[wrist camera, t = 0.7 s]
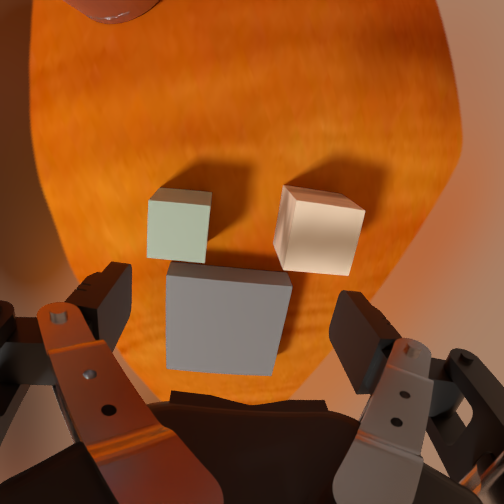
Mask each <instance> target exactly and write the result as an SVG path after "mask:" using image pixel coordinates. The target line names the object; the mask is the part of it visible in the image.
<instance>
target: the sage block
mask: <svg viewBox="0 0 504 504" xmlns="http://www.w3.org/2000/svg"><path fill="white" fill-rule="evenodd" d="M211 200H212V192H205V191H195V190H184V189H173V188H161V187H160V188H159V189H158V190H157V191H156V192H155V194H154V195H153V196H152V197H151V198H150V199H149V203H148V229H147V257H148V258H157V259H167V260H177V261H187V262H198V263H205V257H206V248H207V239H208V229H209V219H210V210H211Z"/></svg>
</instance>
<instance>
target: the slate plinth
mask: <svg viewBox="0 0 504 504" xmlns="http://www.w3.org/2000/svg"><path fill="white" fill-rule="evenodd" d="M292 287H293V286H292V283H291V281H290V278H289V276H288V273H287V272H276V271H264V270H253V269H242V268H231V267H221V266H210V265H200V264H189V263H179V262H171V263H170V266H169V269H168V272H167V275H166V365H167V369H174V370H184V371H195V372H207V373H221V374H237V375H261V376H271V375H272V371H273V367H274V363H275V359H276V355H277V351H278V347H279V343H280V339H281V335H282V331H283V326H284V322H285V318H286V314H287V309H288V305H289V301H290V296H291V292H292Z"/></svg>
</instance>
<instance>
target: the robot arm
mask: <svg viewBox="0 0 504 504" xmlns="http://www.w3.org/2000/svg"><path fill="white" fill-rule="evenodd" d="M63 1H65V2H66V3H68V4H69V5H71V6H73V7H74V8H76V9H77V10H79V11H80V12H82V13H83V14H85V15H86V16H88V17H89V18H91V19H93V20H95V21H97V22H101V23H105V24H115V23H122V22H126V21H129V20H132V19H134V18H136V17H138V16H140V15H142V14H144V13H145V12H147V11H148V10H149V9H151V8H152V7H153V6H154V5H155V4H156V3H157V2H158V1H159V0H63ZM131 304H132V267H131V264H126V263H119V262H111V263H110V264H109V265H108V266H107V267H106V268H105V269H104V271H103V272H102V273H101V272H96V273H94V274H92V275H90V276H87V277H86V278H85V279H84V281H83V282H82V283H81V284H80V285H79V286H78V287H77V290H76V289H75V290H74V292H73V293H72V294H71V295H70V296H69V297H68V298H67V299H66V301H65V302H56V303H50V304H47V305H45V306H44V307H42V308H41V309H39V311H38V313H37V317H15V312H14V307H13V305H12V304H11V303H9V302H7V301H2V300H0V445H1V443H2V441H3V439H4V437H5V435H6V432H7V430H8V428H9V426H10V424H11V422H12V420H13V418H14V416H15V414H16V412H17V410H18V408H19V406H20V404H21V402H22V400H23V398H24V396H25V395H26V393H27V391H28V389H29V387H30V385H52V388H53V391H54V393H55V396H56V399H57V402H58V405H59V407H60V410H61V412H62V415H63V417H64V420H65V422H66V425H67V427H68V430H69V433H70V435H71V438H72V440H73V442H74V444H73V445H71V446H69V447H68V448H66V449H64V450H62V451H60V452H58V453H57V454H55V455H53V456H51V457H49V458H48V459H46V460H44V461H42V462H40V463H38V464H37V465H34V466H33V467H31V468H29V469H27V470H25V471H23V472H21V473H19V474H17V475H15V476H13V477H11V478H9V479H7V480H6V481H4V482H2V483H1V484H0V504H504V387H503V386H502V385H501V383H500V382H499V381H498V380H497V379H496V377H495V376H494V375H493V374H492V373H491V372H490V371H489V370H488V368H487V367H486V366H485V365H484V364H483V363H482V362H481V360H480V359H479V358H478V357H477V356H475V355H474V354H472V353H471V352H469V351H467V350H464V349H458V348H456V349H452V350H451V351H450V353H449V355H448V357H447V359H446V360H441V359H436V358H431V352H430V350H429V349H428V348H427V347H426V346H425V345H424V344H422V343H420V342H418V341H416V340H413V339H409V338H402V337H401V336H400V334H399V333H398V332H397V331H396V329H395V328H394V327H393V326H392V325H391V324H390V322H389V321H388V320H387V319H386V317H385V316H384V315H383V314H382V313H381V312H380V310H378V309H377V308H375V307H374V306H372V305H371V304H370V303H369V301H368V300H367V299H366V298H365V297H364V295H363V294H362V293H361V292H356V291H346V290H343V291H341V292H340V294H339V296H338V300H337V303H336V307H335V310H334V313H333V317H332V320H331V323H330V327H329V338H330V341H331V343H332V345H333V347H334V349H335V351H336V353H337V355H338V357H339V359H340V362H341V363H342V366H343V368H344V370H345V372H346V374H347V376H348V378H349V380H350V382H351V384H352V386H353V388H354V390H355V392H356V394H370V395H371V396H370V398H369V400H368V402H367V404H366V406H365V408H364V410H363V412H362V414H361V416H360V418H359V420H358V421H357V420H355V419H353V418H351V417H349V416H346V415H343V414H341V413H337V412H333V411H328V408H327V406H326V403H325V401H324V400H286V401H280V402H274V403H267V404H260V405H246V404H242V403H238V402H234V401H230V400H227V399H223V398H219V397H215V396H212V395H205V394H196V393H187V392H180V391H172V390H171V395H170V401H164V402H157V403H151V404H147V405H146V404H145V402H144V401H143V399H142V398H141V396H140V395H139V394H138V392H137V391H136V389H135V388H134V386H133V385H132V383H131V382H130V380H129V379H128V377H127V376H126V374H125V373H124V371H123V369H122V368H121V366H120V365H119V363H118V362H117V360H116V358H115V357H114V355H113V353H112V352H113V350H114V348H115V346H116V344H117V342H118V340H119V338H120V335H121V333H122V331H123V329H124V327H125V325H126V323H127V321H128V319H129V316H130V312H131ZM464 397H465V398H466V399H467V401H468V402H469V404H470V405H471V407H472V410H473V417H472V419H471V421H470V423H469V424H468V426H467V427H466V426H465V425H464V423H463V422H462V420H461V419H460V417H459V416H458V414H457V412H456V410H457V408H458V407H459V405H460V403H461V402H462V400H463V399H464ZM425 431H426V432H427V433H428V435H429V437H430V439H431V441H432V443H433V445H434V447H435V449H436V451H437V452H438V455H439V457H440V458H441V461H442V463H443V464H444V467H445V468H446V471H447V473H448V475H449V476H450V478H449V477H447V476H446V475H444V474H442V473H441V472H439V471H437V470H435V469H434V468H432V467H430V466H429V465H427V464H425V463H424V462H423V457H421V449H422V445H423V440H424V436H425Z"/></svg>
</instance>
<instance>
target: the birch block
mask: <svg viewBox="0 0 504 504" xmlns="http://www.w3.org/2000/svg"><path fill="white" fill-rule="evenodd" d="M364 215H365V210H364V209H362V208H361V207H360V206H358V205H357V204H355V203H354V202H353V201H351V200H350V199H348V198H347V197H346V196H344V195H343V194H339V193H333V192H327V191H321V190H314V189H308V188H301V187H294V186H287V185H283V189H282V195H281V201H280V207H279V213H278V219H277V224H276V230H275V236H274V241H273V245H274V247H275V250H276V253H277V255H278V258H279V260H280V263H281V266H282V268H283V270H288V271H299V272H311V273H323V274H335V275H347V276H349V272H350V269H351V265H352V262H353V258H354V254H355V251H356V247H357V243H358V239H359V235H360V231H361V227H362V223H363V219H364Z"/></svg>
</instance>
